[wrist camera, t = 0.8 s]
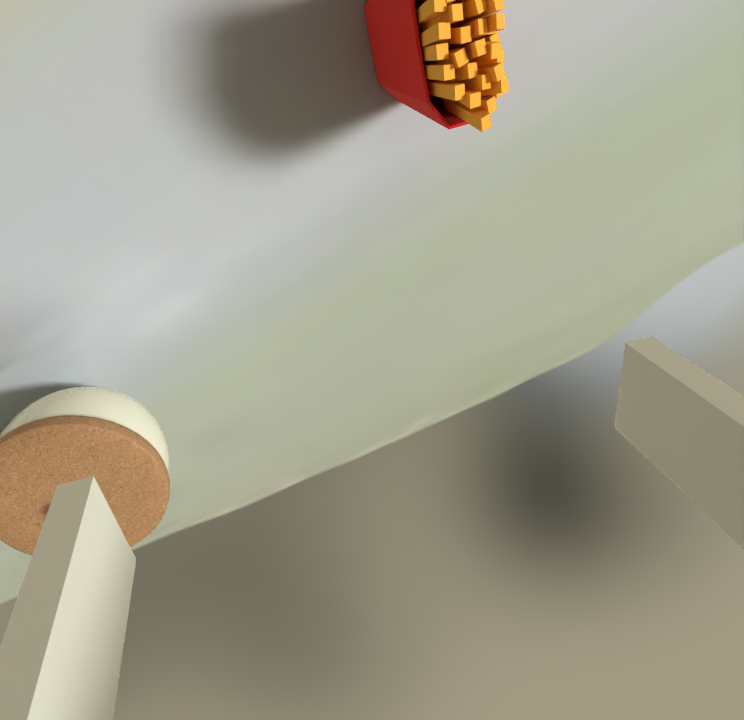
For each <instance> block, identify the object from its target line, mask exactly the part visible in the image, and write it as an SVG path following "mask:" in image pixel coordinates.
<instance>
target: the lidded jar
mask: <svg viewBox="0 0 744 720" xmlns="http://www.w3.org/2000/svg"><path fill="white" fill-rule="evenodd" d="M92 476H94V478H95V480H96V482H97V484H98V486H99V487H100V489H101V491H102V493H103V495H104V497H105V499H106V501H107V503H108V505H109V507H110V509H111V511H112V513H113V515H114V517H115V519H116V521H117V523H118V525H119V527H120V529H121V531H122V533H123V534H124V536H125V538H126V540H127V542H128V544H129V546H130V547H131V546H133V545H135V544H137V543H138V542H140V541H141V540H142V539H144V538H145V537H146V536H148V535H149V534H150V533H151V532H152V531H153V530H154V529H155V528H156V526H157V525H158V523H159V522H160V521H161V519H162V517H163V515H164V513H165V511H166V509H167V505H168V501H169V491H170V480H169V454H168V448H167V443H166V440H165V437H164V434H163V432H162V429H161V427H160V426H159V424H158V423H157V421H156V419H155V418H154V417H153V415H152V414H151V413H150V412H149V411H148V410H147V409H146V408H145V407H144V406H143V405H141V404H140V403H139V402H137V401H136V400H134V399H132V398H131V397H129V396H127V395H125V394H122V393H120V392H118V391H114V390H111V389H107V388H100V387H74V388H68V389H63V390H59V391H57V392H54V393H51V394H48V395H46V396H44V397H42V398H40V399H38V400H36V401H35V402H33V403H31V404H30V405H29V406H28V407H26V408H25V409H24V410H22V411H21V412H20V413H19V414H17V415H16V416H15V417H14V418H13V420H12V421H11V422H10V423H9V424H8V425H7V426H6V427H5V429H4V430H3V431H2V432H1V433H0V540H1V541H3V542H4V543H5V544H7V545H9V546H11V547H13V548H14V549H16V550H19V551H21V552H24V553H26V554H29V555H33V552H34V549H35V547H36V544H37V541H38V538H39V535H40V532H41V529H42V527H43V524H44V521H45V518H46V515H47V512H48V509H49V507H50V504H51V501H52V498H53V495H54V492H55V490H56V487H57V485H60V484H64V483H68V482H72V481H76V480H80V479H84V478H88V477H92Z"/></svg>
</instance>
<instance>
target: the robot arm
mask: <svg viewBox="0 0 744 720" xmlns="http://www.w3.org/2000/svg"><path fill="white" fill-rule="evenodd" d="M614 428H615V429H616V430H617V431H618V432H619V433H620V434H622V436H624V437H625V438H626V439H627V440H628V441H629V442H630V443H631V444H632V445H633V446H634V447H635V448H636V449H637V450H639V451H640V452H641V453H642V454H643V455H644V456H645V457H646V458H647V459H648V460H649V461H650V462H651V463H652V464H653V465H655V466H656V467H657V468H658V469H659V470H660V471H661V472H662V473H663V474H664V475H665V476H666V477H668V478H669V479H670V480H671V481H672V482H673V483H674V484H675V485H676V486H677V487H678V488H679V489H680V490H681V491H682V492H683V493H685V494H686V495H687V496H688V497H689V498H690V499H691V500H692V501H693V502H694V503H695V504H696V505H697V506H698V507H699V508H700V509H702V510H703V511H704V512H705V513H706V514H707V515H708V516H709V517H710V518H711V519H712V520H714V521H715V523H717V524H718V525H719V526H720V527H721V528H722V529H723V530H724V531H725V532H726V533H727V534H728V535H729V536H731V537H732V538H733V539H734V540H735V541H736V542H737V543H738V544H739V545H740V546H741V547H742V548H743V549H744V396H743V395H741V394H740V393H738V392H737V391H735V390H734V389H732V388H731V387H729V386H727V385H726V384H724V383H723V382H721V381H720V380H718V379H717V378H715V377H714V376H712V375H710V374H709V373H707V372H706V371H704V370H703V369H701V368H700V367H698V366H696V365H695V364H694V363H692V362H691V361H689V360H687V359H686V358H684V357H683V356H681V355H680V354H678V353H677V352H675V351H674V350H672V349H670V348H669V347H667V346H666V345H664V344H663V343H661V342H660V341H658V340H657V339H655V338H654V337H652V336H651V337H647V338H643V339H639V340H635V341H631V342H627V343H625V351H624V357H623V365H622V372H621V379H620V387H619V394H618V402H617V408H616V416H615V424H614ZM135 564H136V558H135V556H134V554H133V552H132V550H131V548H130V546H129V544H128V542H127V540H126V538H125V536H124V534H123V533H122V531H121V529H120V527H119V525H118V523H117V521H116V519H115V517H114V515H113V513H112V511H111V509H110V507H109V505H108V503H107V501H106V499H105V497H104V495H103V493H102V491H101V489H100V487H99V486H98V484H97V482H96V480H95V478H94V476H92V477H88V478H84V479H80V480H76V481H72V482H68V483H64V484H60V485H57V487H56V490H55V492H54V495H53V498H52V501H51V504H50V507H49V509H48V512H47V515H46V518H45V521H44V524H43V527H42V529H41V532H40V535H39V538H38V541H37V544H36V547H35V549H34V552H33V555H32V558H31V561H30V564H29V566H28V569H27V572H26V575H25V578H24V581H23V584H22V586H21V589H20V592H19V595H18V598H17V601H16V603H15V606H14V609H13V612H12V615H11V618H10V621H9V624H8V626H7V629H6V632H5V635H4V638H3V640H2V643H1V646H0V720H113V715H114V708H115V702H116V695H117V688H118V680H119V674H120V667H121V660H122V653H123V646H124V639H125V633H126V625H127V618H128V612H129V604H130V597H131V591H132V584H133V577H134V570H135Z"/></svg>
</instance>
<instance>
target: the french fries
mask: <svg viewBox="0 0 744 720" xmlns="http://www.w3.org/2000/svg"><path fill="white" fill-rule="evenodd" d="M503 8H504V3H503V0H367V2H366V5H365V7H364V9H365V15H366V22H367V29H368V34H369V40H370V46H371V51H372V56H373V60H374V65H375V70H376V74H377V78H378V82H379V84H380V85H381V86H382V87H383V88H384V89H385V90H386V91H387V92H389V93H390V94H391V95H392V96H393V97H394V98H395V99H396V100H398V101H400V102H402V103H403V104H405V105H407V106H409V107H411V108H412V109H414V110H416V111H418V112H419V113H421V114H423V115H425V116H426V117H428V118H430V119H432V120H434V121H435V122H437V123H439V124H441V125H442V126H444V127H446V128H448V129H452V128H455V127H459V126H462V125H466V124H470V125H472V126H474V127H475V128H477V129H478V130H480V131H482V132H483V131H485V130H486V129H488V128H489V127H491V119H490V113H492V112H493V111H495V110H496V109H497V106H496V101H495V98H498V97H499V96H501V95H502V94H503V93H505V92H508V91H509V88H508V77H505V76H506V75H505V71H504V67H503V64H502V63H504V49H501V42H500V39H499V35H498V32H497V31H499V30H503V29H504V13H496V14H493V13H495V12H497V11H499V10H501V9H503ZM491 14H493V15H491ZM488 15H490V16H488ZM483 35H484V36H483ZM504 77H505V78H504Z"/></svg>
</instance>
